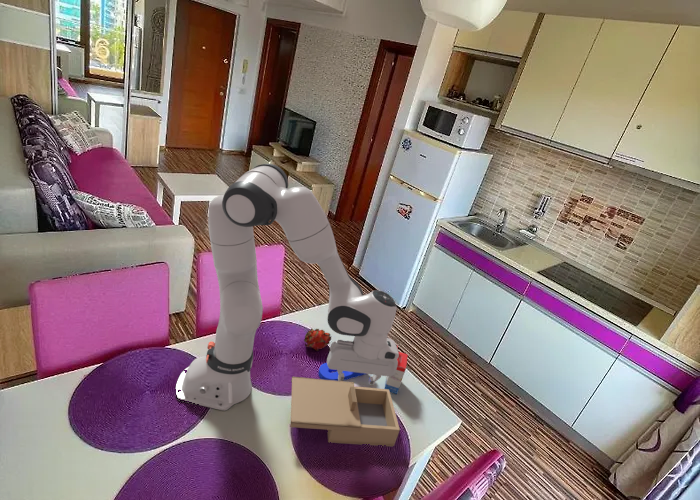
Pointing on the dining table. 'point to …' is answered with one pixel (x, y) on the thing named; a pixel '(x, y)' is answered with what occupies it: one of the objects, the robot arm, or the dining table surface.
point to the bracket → (335, 373)
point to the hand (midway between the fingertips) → (355, 381)
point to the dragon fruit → (317, 339)
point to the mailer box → (371, 420)
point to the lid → (324, 405)
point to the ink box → (397, 374)
